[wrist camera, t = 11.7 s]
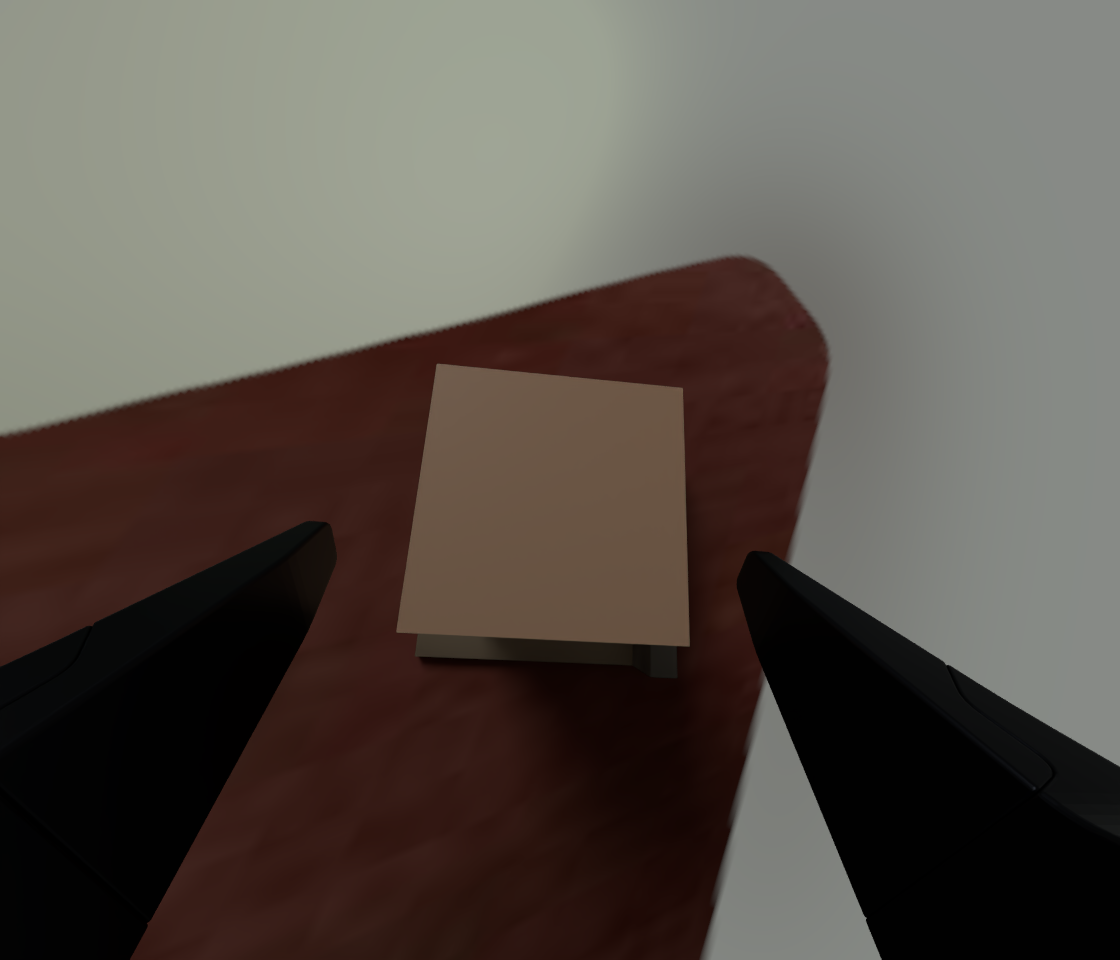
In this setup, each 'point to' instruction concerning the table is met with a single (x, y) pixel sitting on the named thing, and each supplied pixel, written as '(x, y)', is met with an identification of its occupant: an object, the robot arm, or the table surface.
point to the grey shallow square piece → (552, 652)
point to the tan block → (550, 511)
